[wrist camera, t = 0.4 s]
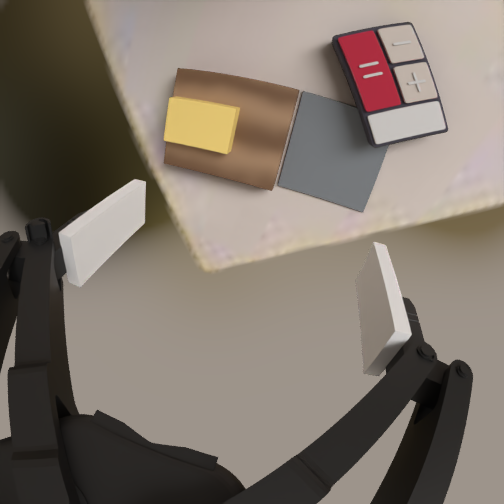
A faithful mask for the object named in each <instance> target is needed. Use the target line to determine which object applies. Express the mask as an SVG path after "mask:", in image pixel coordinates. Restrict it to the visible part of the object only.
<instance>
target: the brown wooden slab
mask: <svg viewBox="0 0 504 504" xmlns="http://www.w3.org/2000/svg"><path fill="white" fill-rule="evenodd" d="M299 91H300V90H297V89H293V88H289V87H285V86H281V85H277V84H273V83H268V82H264V81H259V80H254V79H249V78H244V77H239V76H233V75H227V74H221V73H215V72H208V71H200V70H192V69H180V68H178V70H177V75H176V81H175V87H174V93H173V97H183V98H190V99H196V100H202V101H208V102H214V103H219V104H224V105H229V106H234V107H239V108H240V111H239V116H238V121H237V125H236V130H235V135H234V140H233V144H232V149H231V151H230V152H229V153H228V154H224V153H220V152H215V151H211V150H207V149H202V148H198V147H193V146H188V145H183V144H179V143H174V142H169V141H166V149H165V158H164V163H165V164H169V165H174V166H178V167H182V168H187V169H191V170H195V171H199V172H203V173H207V174H211V175H215V176H219V177H223V178H227V179H231V180H234V181H238V182H242V183H245V184H249V185H253V186H256V187H260V188H264V189H267V190H271V191H272V189H273V187H274V184H275V181H276V177H277V174H278V170H279V166H280V162H281V159H282V155H283V151H284V147H285V144H286V140H287V136H288V132H289V128H290V125H291V121H292V117H293V113H294V110H295V106H296V102H297V98H298V94H299Z"/></svg>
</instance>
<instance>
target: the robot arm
mask: <svg viewBox="0 0 504 504" xmlns="http://www.w3.org/2000/svg"><path fill="white" fill-rule="evenodd" d="M145 186H146V182H145V181H141V180H133V181H131V182H130V183H128V184H127V185H125V186H123V187H122V188H120V189H119V190H117V191H116V192H114V193H113V194H111V195H110V196H109V197H107V198H106V199H104V200H103V201H101V202H100V203H98V204H97V205H95V206H94V207H93V208H91V209H90V210H88V211H84V212H82V213H79V214H77V215H76V216H75V217H73V218H72V219H71V220H69V221H68V222H67V223H65V224H64V225H62V226H61V227H60V228H58V229H57V230H56V231H54V232H53V233H52V229H51V223H50V220H48V219H47V218H37V219H34V220H32V221H30V222H29V223H27V224H26V226H25V230H26V235H27V239H28V241H20V237H19V233H18V232H16V231H8V232H5V233H4V234H2V235H1V236H0V372H1V368H2V364H3V360H4V356H5V353H6V349H7V346H8V342H9V339H10V336H11V333H12V329H13V326H14V323H15V320H16V317H17V323H16V341H15V366H14V367H10V368H9V370H8V403H9V417H10V428H11V437H8V438H5V439H2V440H0V504H317V503H318V502H319V501H320V500H321V499H322V498H324V497H325V496H326V495H327V494H328V493H329V491H330V490H331V487H332V486H333V485H334V484H335V483H336V482H337V481H338V480H339V479H340V478H341V477H342V476H343V475H344V474H346V473H347V472H348V471H349V470H350V469H351V468H352V467H353V466H354V465H355V464H356V463H357V462H358V461H359V459H360V458H362V456H363V455H364V454H365V453H366V452H367V451H368V450H369V449H370V448H371V447H372V446H373V445H374V444H375V442H376V441H377V440H378V439H379V438H380V437H381V436H382V435H383V433H384V432H385V431H386V430H387V429H388V427H389V426H390V425H391V424H392V423H393V421H394V420H395V419H396V418H397V416H398V415H399V414H400V413H401V411H402V410H403V409H404V408H405V406H406V405H407V404H408V402H409V401H410V400H413V401H415V402H416V405H415V408H414V411H413V413H412V416H411V419H410V421H409V424H408V427H407V429H406V431H405V434H404V436H403V439H402V441H401V443H400V446H399V448H398V451H397V453H396V455H395V457H394V459H393V461H392V463H391V465H390V467H389V469H388V472H387V474H386V476H385V478H384V479H383V481H382V483H381V485H380V487H379V489H378V491H377V493H376V494H375V496H374V498H373V500H372V502H371V503H370V504H443V502H444V499H445V497H446V494H447V491H448V488H449V485H450V482H451V479H452V476H453V473H454V469H455V466H456V463H457V459H458V455H459V452H460V448H461V443H462V439H463V435H464V429H465V426H466V420H467V415H468V409H469V404H470V397H471V390H472V382H473V373H472V371H471V369H470V367H469V366H468V365H467V364H466V363H465V362H464V361H461V360H455V361H453V362H452V363H451V364H450V365H447V364H445V363H443V362H441V361H439V360H437V355H436V353H435V350H434V349H433V348H432V347H431V346H430V345H429V344H427V343H426V342H424V338H423V334H422V331H421V327H420V323H419V320H418V316H417V313H416V310H415V307H414V305H413V304H412V302H411V301H410V300H409V299H408V298H404V297H402V295H401V292H400V288H399V285H398V282H397V278H396V275H395V272H394V269H393V266H392V263H391V260H390V257H389V254H388V251H387V248H386V245H383V244H380V243H376V242H373V244H372V246H371V248H370V251H369V253H368V255H367V257H366V260H365V262H364V264H363V266H362V268H361V270H360V272H359V274H358V276H357V279H356V290H357V298H358V308H359V318H360V329H361V341H362V355H363V372H364V374H369V375H375V376H379V375H380V374H381V373H382V372H383V371H384V370H385V368H386V375H385V376H384V377H383V378H382V379H381V380H380V381H379V383H378V384H376V385H375V386H374V388H373V389H372V390H371V391H370V392H369V393H368V394H367V395H366V396H365V397H364V398H363V399H362V400H360V402H358V403H357V404H356V405H355V406H354V407H353V408H352V409H351V410H350V411H349V412H348V413H347V414H346V415H345V416H344V417H342V418H341V419H340V420H339V421H338V422H337V423H336V424H334V425H333V426H332V427H331V428H330V429H329V430H328V431H326V432H325V433H324V434H323V435H322V436H320V437H319V438H318V439H317V440H316V441H314V442H313V443H312V444H311V445H309V446H308V447H307V448H305V449H304V450H303V451H302V452H300V453H299V454H298V455H296V456H294V457H293V458H291V459H290V460H289V461H287V462H286V463H284V464H283V465H282V466H280V467H279V468H278V469H276V470H275V471H273V472H272V473H270V474H269V475H267V476H266V477H264V478H263V479H261V480H260V481H258V482H257V483H255V484H254V485H252V486H250V487H249V488H247V489H245V487H244V486H243V485H242V483H241V482H240V481H239V480H238V479H237V478H236V476H234V475H233V474H232V473H231V472H230V471H228V470H227V469H226V468H224V467H223V466H221V465H219V464H217V463H216V462H217V459H218V457H215V456H211V455H208V454H205V453H202V452H199V451H195V450H192V449H189V448H186V447H177V446H169V445H162V444H155V443H151V442H149V441H148V440H146V439H145V438H143V437H142V436H141V435H139V434H138V433H136V432H135V431H134V430H133V429H131V428H130V427H129V426H127V425H126V424H125V423H123V422H121V421H119V420H117V419H115V418H113V417H111V416H109V415H107V414H104V413H103V412H100V411H99V410H97V411H96V413H95V414H94V416H92V415H85V414H79V412H78V410H77V407H76V405H75V401H74V397H73V391H72V385H71V378H70V371H69V364H68V356H67V346H66V335H65V324H64V323H65V322H64V301H63V280H62V276H63V275H64V274H65V273H67V277H68V281H69V283H71V284H74V285H76V286H78V287H81V286H82V285H83V284H84V283H85V282H86V281H87V280H88V279H89V278H90V277H91V276H92V275H93V273H94V272H95V271H96V270H97V269H98V268H99V267H100V266H101V265H102V264H103V263H104V262H105V261H106V260H107V259H108V258H109V257H110V256H111V255H112V254H113V253H114V252H115V251H116V250H117V249H118V248H119V247H120V246H121V245H122V244H123V243H124V242H125V241H126V240H127V239H128V238H129V237H130V236H132V234H134V232H136V231H137V230H138V229H139V228H140V227H141V226H142V225H143V224H144V223H145V188H146V187H145Z"/></svg>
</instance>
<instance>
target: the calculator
mask: <svg viewBox="0 0 504 504" xmlns="http://www.w3.org/2000/svg"><path fill="white" fill-rule="evenodd" d="M332 45H333V47H334V49H335V52H336V54H337V56H338V59H339V61H340V63H341V66H342V68H343V71H344V73H345V76H346V78H347V81H348V84H349V86H350V89H351V92H352V94H353V97H354V100H355V103H356V105H357V108H358V111H359V115H360V119H361V122H362V125H363V128H364V131H365V134H366V138H367V141H368V143H369V144H370V145H371V146H372V147H374V148H378V147H382V146H386V145H390V144H395V143H399V142H403V141H407V140H412V139H416V138H421V137H425V136H430V135H435V134H440V133H444V132H447V131H448V126H447V122H446V118H445V114H444V111H443V107H442V103H441V100H440V96H439V93H438V90H437V87H436V84H435V81H434V78H433V75H432V72H431V69H430V66H429V63H428V61H427V58H426V55H425V53H424V50H423V48H422V45H421V43H420V40H419V38H418V36H417V33H416V31H415V29H414V26H413V24H412V23H410V22H404V23H397V24H390V25H384V26H378V27H372V28H367V29H362V30H357V31H353V32H348V33H344V34H340V35H336V36H334V37H333V40H332Z"/></svg>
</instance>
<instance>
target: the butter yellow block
mask: <svg viewBox="0 0 504 504" xmlns="http://www.w3.org/2000/svg"><path fill="white" fill-rule="evenodd" d="M239 111H240V108H239V107H234V106H229V105H224V104H219V103H214V102H208V101H202V100H196V99H190V98H183V97H170V98H169V104H168V111H167V118H166V125H165V133H164V141H169V142H174V143H179V144H183V145H188V146H193V147H198V148H202V149H207V150H211V151H215V152H220V153H224V154H228V153H229V152H230V151H231V149H232V144H233V140H234V135H235V130H236V125H237V121H238V116H239Z"/></svg>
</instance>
